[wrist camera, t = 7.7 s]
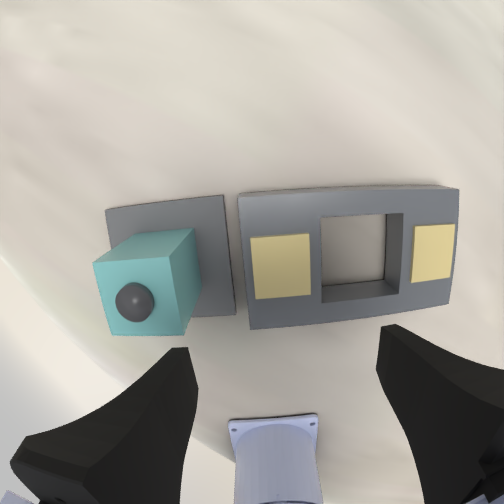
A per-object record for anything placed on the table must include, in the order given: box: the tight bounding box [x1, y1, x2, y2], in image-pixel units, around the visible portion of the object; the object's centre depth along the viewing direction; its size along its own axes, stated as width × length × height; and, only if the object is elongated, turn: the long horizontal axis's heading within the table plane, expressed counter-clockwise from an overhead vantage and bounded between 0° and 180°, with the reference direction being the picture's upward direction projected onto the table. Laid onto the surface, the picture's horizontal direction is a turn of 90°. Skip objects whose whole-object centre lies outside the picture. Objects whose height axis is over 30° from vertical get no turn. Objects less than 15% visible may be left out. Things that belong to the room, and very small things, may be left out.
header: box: [237, 185, 459, 330], centre depth 18 cm, size 8×14×3 cm, turn 95°
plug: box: [93, 228, 202, 336], centre depth 16 cm, size 4×4×7 cm
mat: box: [105, 195, 236, 317], centre depth 20 cm, size 8×8×1 cm
